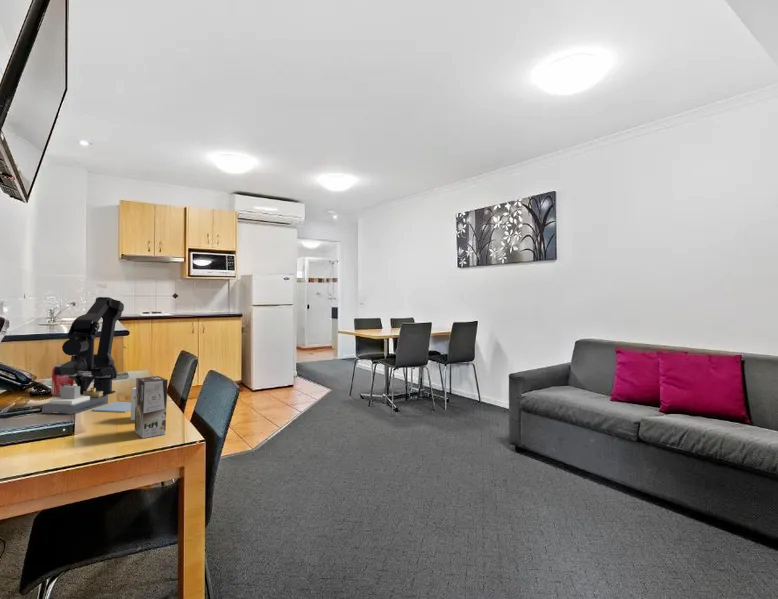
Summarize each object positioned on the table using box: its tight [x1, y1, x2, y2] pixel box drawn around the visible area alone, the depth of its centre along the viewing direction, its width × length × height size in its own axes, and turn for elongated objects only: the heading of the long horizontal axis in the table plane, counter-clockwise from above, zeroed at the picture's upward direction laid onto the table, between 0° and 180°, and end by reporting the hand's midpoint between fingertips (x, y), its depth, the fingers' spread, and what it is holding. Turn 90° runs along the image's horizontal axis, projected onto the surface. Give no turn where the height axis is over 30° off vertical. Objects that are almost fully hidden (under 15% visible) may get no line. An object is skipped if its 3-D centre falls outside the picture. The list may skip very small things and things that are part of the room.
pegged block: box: [83, 387, 103, 397], centre depth 154 cm, size 2×6×3 cm, turn 87°
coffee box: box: [134, 375, 169, 439], centre depth 123 cm, size 9×6×16 cm
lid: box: [48, 385, 90, 405], centre depth 146 cm, size 8×8×5 cm
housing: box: [41, 394, 109, 415], centre depth 148 cm, size 16×11×3 cm
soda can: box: [51, 363, 75, 397], centre depth 169 cm, size 7×7×12 cm
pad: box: [91, 401, 131, 413], centre depth 151 cm, size 12×12×1 cm
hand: (82, 394), depth 154 cm, fingers closed
